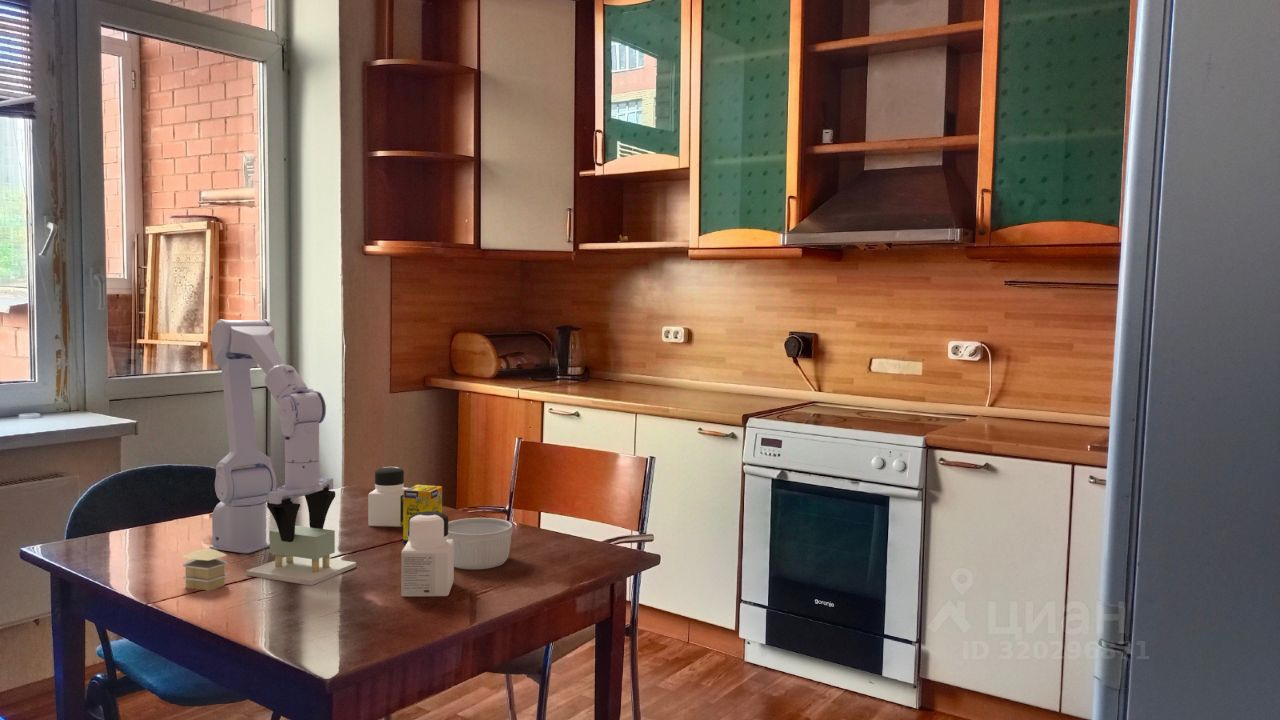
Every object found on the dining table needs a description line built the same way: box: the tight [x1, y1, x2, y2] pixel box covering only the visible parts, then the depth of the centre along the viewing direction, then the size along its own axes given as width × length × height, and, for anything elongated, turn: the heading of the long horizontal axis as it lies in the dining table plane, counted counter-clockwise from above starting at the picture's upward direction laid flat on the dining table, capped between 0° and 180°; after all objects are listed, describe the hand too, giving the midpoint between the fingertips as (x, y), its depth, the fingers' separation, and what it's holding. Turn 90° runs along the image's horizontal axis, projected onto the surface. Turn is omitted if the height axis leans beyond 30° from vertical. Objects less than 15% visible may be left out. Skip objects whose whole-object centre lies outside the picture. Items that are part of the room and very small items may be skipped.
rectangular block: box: [269, 525, 336, 560], centre depth 165 cm, size 10×5×4 cm, turn 70°
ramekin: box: [448, 517, 514, 570], centre depth 174 cm, size 13×13×7 cm
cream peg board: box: [245, 554, 357, 586], centre depth 166 cm, size 14×12×3 cm
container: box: [400, 511, 455, 597], centre depth 156 cm, size 8×8×13 cm
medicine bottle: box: [367, 466, 410, 528], centre depth 202 cm, size 7×7×12 cm
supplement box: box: [402, 484, 443, 545], centre depth 187 cm, size 6×6×11 cm
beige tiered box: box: [182, 548, 228, 591], centre depth 157 cm, size 10×9×6 cm
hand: (302, 536), depth 165 cm, fingers open, 7 cm apart
